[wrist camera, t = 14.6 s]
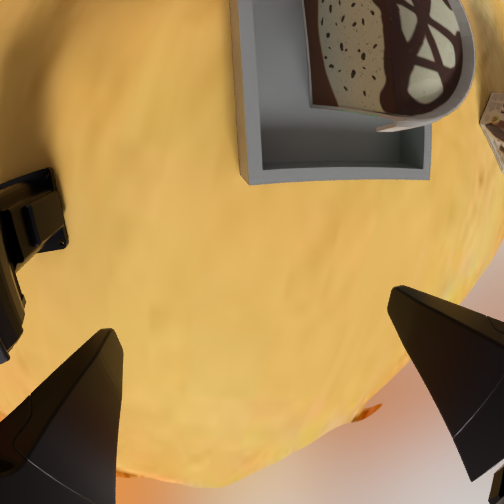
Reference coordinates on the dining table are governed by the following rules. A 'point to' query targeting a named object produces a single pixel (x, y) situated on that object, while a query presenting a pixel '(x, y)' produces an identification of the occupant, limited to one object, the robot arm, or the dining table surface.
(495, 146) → the coffee box
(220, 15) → the dining table surface
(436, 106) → the food container
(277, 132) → the tray
